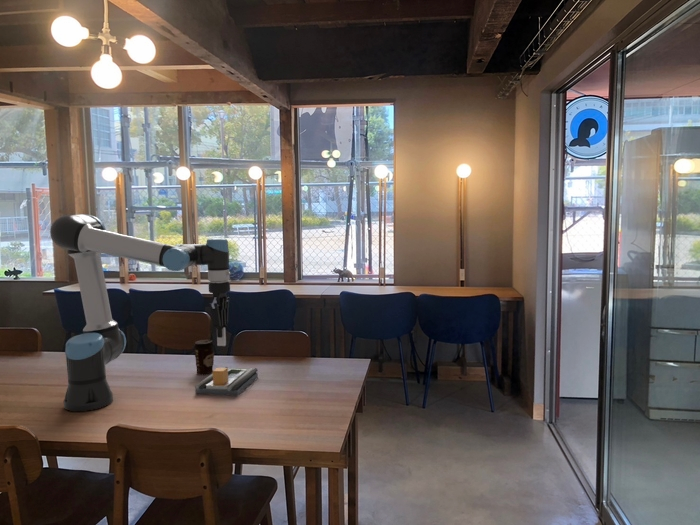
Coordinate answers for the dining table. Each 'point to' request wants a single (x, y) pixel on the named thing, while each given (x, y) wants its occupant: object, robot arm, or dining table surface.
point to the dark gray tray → (234, 384)
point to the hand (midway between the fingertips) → (221, 345)
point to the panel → (228, 384)
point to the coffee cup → (204, 356)
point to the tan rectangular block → (220, 376)
